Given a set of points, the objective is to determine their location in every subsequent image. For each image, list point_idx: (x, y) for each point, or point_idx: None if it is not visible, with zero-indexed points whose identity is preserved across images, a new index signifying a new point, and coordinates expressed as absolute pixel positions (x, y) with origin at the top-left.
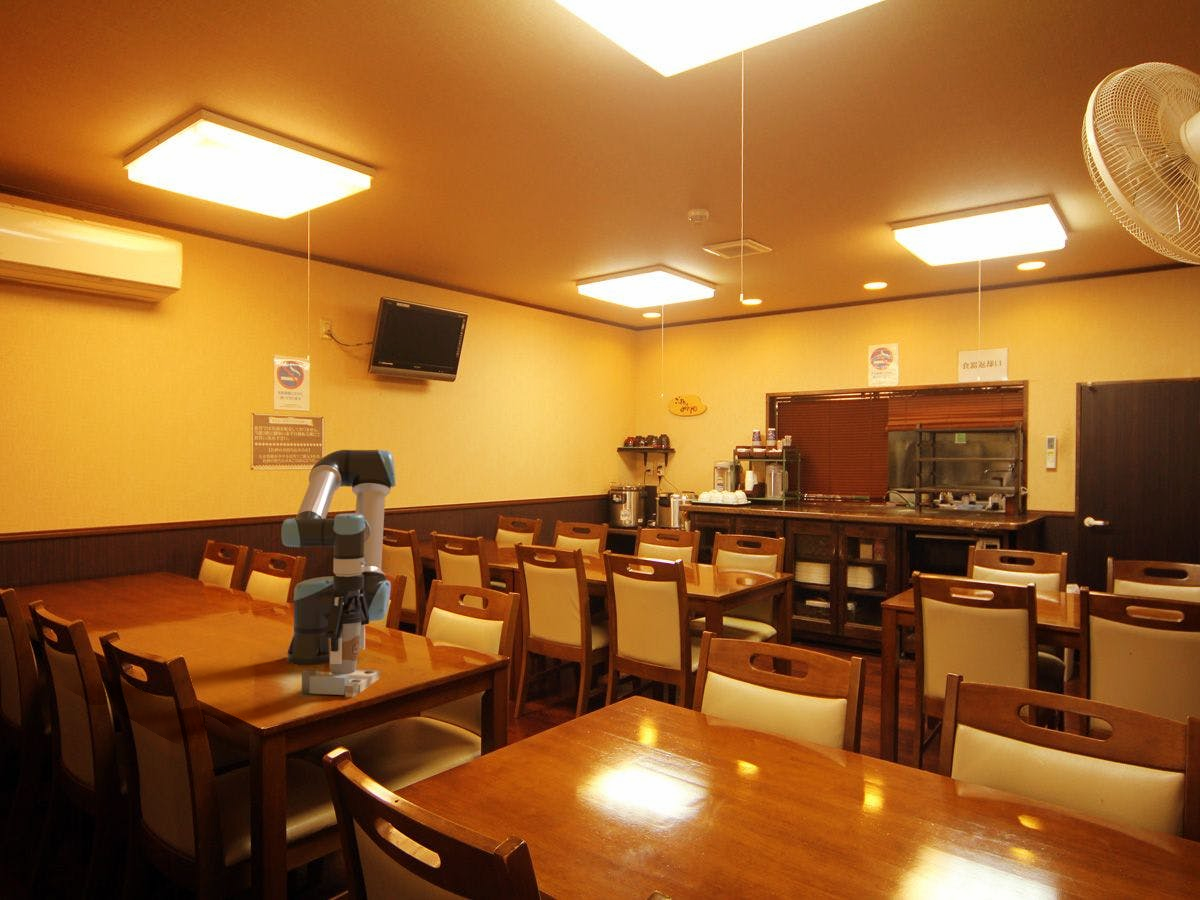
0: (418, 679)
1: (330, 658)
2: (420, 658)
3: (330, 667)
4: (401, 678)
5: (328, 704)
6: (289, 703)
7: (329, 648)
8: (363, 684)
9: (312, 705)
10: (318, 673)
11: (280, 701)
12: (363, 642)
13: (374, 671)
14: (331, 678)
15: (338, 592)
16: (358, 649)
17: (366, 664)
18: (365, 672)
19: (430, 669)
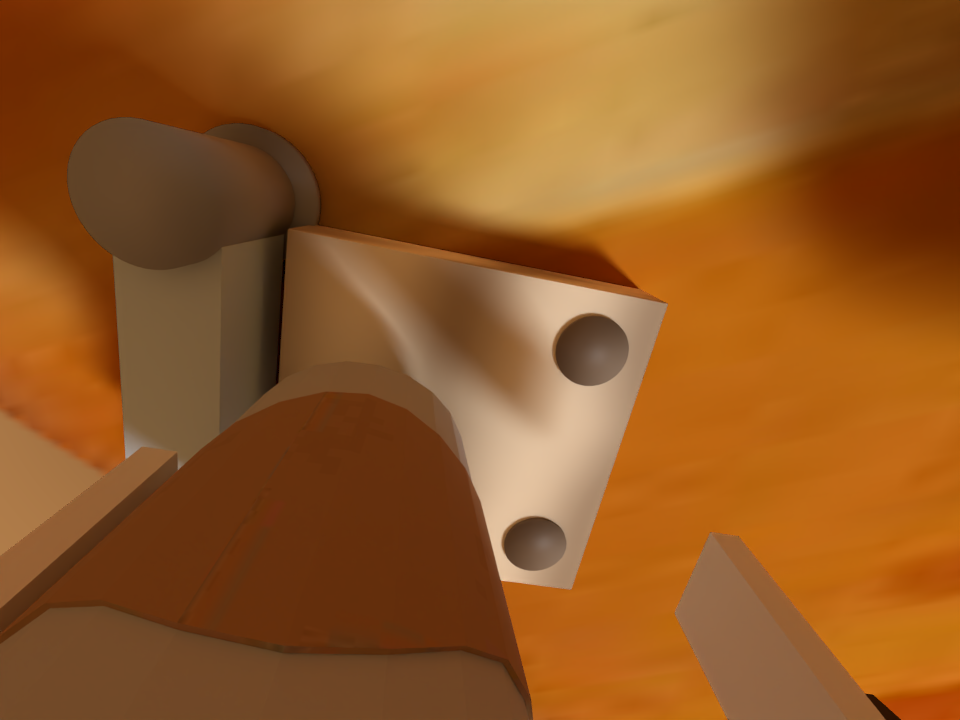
0: (548, 699)
1: (96, 484)
2: (937, 650)
3: (263, 397)
4: (575, 633)
5: (90, 386)
6: (45, 111)
7: (146, 503)
8: None
9: (47, 294)
10: (217, 286)
11: (71, 13)
12: (714, 681)
13: (551, 566)
14: (132, 426)
15: None
16: (693, 570)
17: (922, 405)
18: (522, 527)
19: (710, 717)
